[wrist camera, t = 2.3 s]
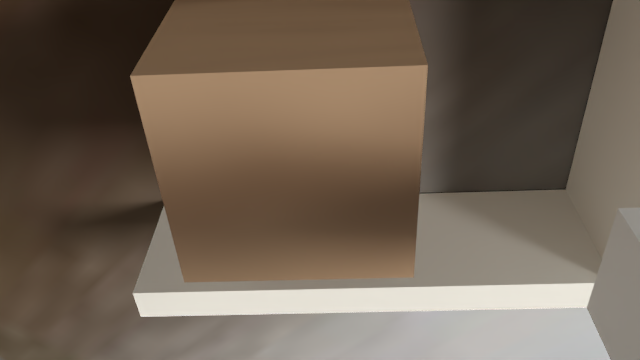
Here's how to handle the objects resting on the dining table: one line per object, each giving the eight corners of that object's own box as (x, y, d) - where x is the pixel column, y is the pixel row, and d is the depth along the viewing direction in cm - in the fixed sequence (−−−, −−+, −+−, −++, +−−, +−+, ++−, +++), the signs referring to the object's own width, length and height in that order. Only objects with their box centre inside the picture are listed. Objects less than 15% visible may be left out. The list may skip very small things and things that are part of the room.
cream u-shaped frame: (171, 223, 25) (140, 316, 21) (56, -219, 16) (-38, -204, 12) (589, 211, 24) (640, 306, 20) (725, -258, 15) (868, -254, 11)
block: (200, -43, 18) (130, 75, 12) (394, -52, 18) (428, 65, 12) (227, 123, 22) (184, 282, 16) (389, 117, 22) (413, 277, 15)
